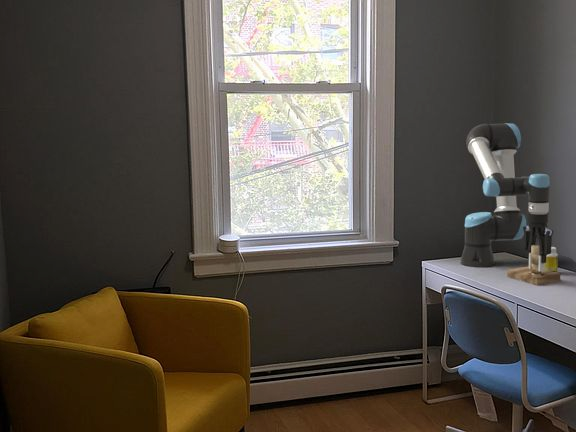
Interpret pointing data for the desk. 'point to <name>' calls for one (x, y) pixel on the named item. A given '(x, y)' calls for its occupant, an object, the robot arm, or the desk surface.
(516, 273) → the board
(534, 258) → the leg peg
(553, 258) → the pill bottle
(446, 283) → the desk surface
